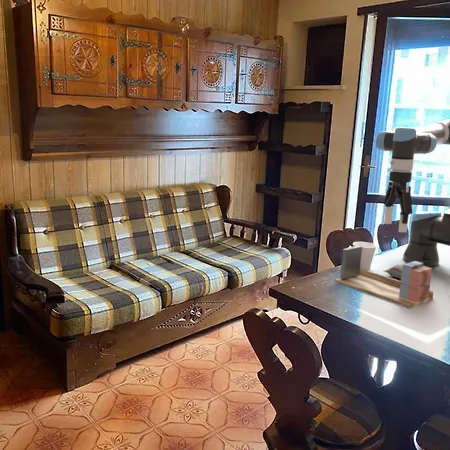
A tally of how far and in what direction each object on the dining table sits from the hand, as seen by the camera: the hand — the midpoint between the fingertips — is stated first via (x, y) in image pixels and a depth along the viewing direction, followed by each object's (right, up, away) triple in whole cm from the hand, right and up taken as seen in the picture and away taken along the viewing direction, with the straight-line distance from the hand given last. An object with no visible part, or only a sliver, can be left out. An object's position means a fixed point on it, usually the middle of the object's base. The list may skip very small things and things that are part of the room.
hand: (394, 227), depth 176 cm
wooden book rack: (-4, -23, +2) cm, 24 cm away
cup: (-5, -18, +26) cm, 32 cm away
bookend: (-14, -20, +11) cm, 26 cm away
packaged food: (+5, -22, +17) cm, 28 cm away
